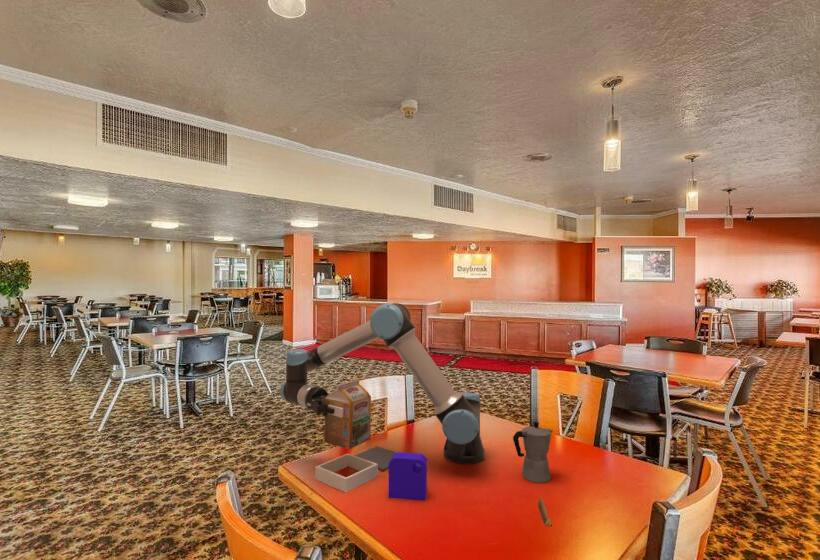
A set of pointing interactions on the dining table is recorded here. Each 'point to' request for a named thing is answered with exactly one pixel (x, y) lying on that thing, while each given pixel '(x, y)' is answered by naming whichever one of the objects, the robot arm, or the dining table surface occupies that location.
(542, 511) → the wooden stick
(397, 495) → the bracket
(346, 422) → the milk carton
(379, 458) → the rubber mat
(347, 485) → the carton holder
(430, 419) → the dining table surface
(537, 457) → the coffeepot
